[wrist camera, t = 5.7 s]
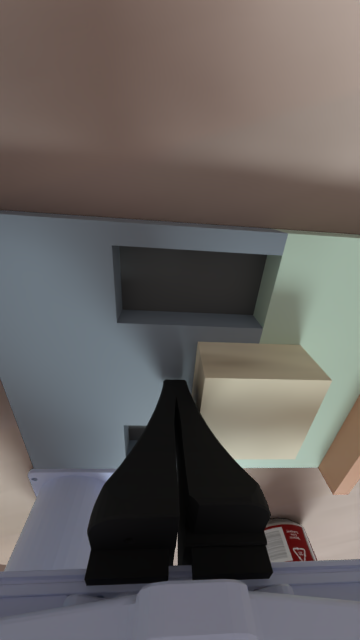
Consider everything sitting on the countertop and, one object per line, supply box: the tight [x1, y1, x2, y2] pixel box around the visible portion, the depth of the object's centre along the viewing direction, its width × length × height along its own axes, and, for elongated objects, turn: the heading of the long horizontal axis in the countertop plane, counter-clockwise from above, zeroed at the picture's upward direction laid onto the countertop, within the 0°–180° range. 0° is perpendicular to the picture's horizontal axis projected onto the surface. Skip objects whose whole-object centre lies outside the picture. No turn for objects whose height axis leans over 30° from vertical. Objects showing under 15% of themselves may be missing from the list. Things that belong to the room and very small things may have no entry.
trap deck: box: [0, 210, 360, 495], centre depth 14 cm, size 18×24×4 cm
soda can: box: [264, 519, 317, 562], centre depth 23 cm, size 7×7×12 cm
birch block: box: [192, 342, 332, 459], centre depth 13 cm, size 6×6×3 cm
